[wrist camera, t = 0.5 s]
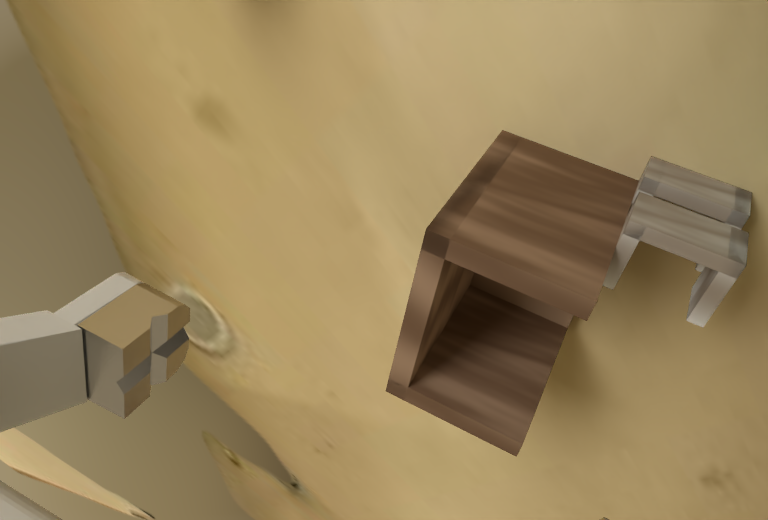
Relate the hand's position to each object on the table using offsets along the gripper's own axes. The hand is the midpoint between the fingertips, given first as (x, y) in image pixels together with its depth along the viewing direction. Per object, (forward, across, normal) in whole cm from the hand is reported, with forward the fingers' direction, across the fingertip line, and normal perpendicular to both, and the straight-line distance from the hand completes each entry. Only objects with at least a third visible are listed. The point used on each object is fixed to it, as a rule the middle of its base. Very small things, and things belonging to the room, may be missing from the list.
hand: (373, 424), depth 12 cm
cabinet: (+38, -3, +15) cm, 41 cm away
